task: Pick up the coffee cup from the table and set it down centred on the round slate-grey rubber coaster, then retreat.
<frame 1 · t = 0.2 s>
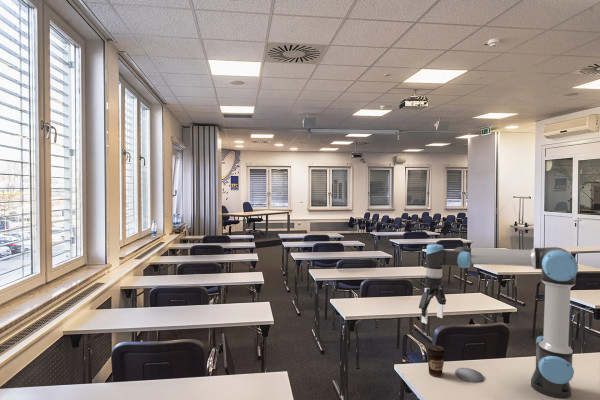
hand: (432, 320, 178), 26 cm above the table, fingers open, 13 cm apart
coffee cup: (435, 374, 177), on the table
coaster: (468, 375, 176), on the table
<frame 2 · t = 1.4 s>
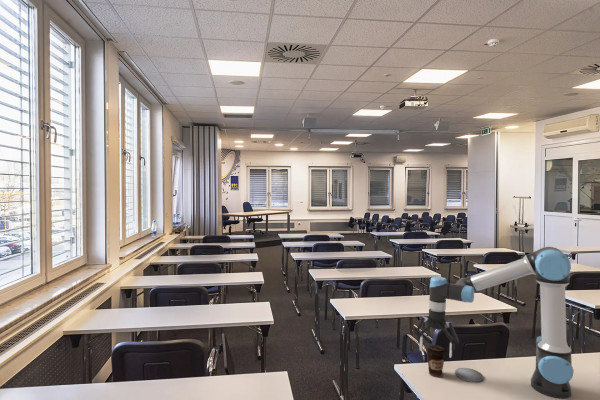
hand: (435, 353, 177), 10 cm above the table, fingers open, 13 cm apart
nothing on the table moved.
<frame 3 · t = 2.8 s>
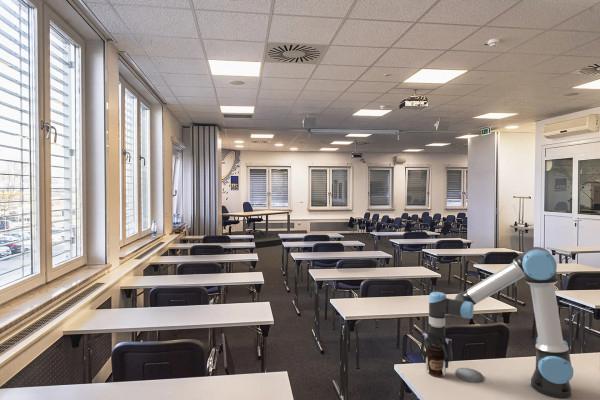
hand: (435, 371, 177), 1 cm above the table, fingers closed on coffee cup, 7 cm apart
coffee cup: (435, 374, 177), on the table, touching gripper
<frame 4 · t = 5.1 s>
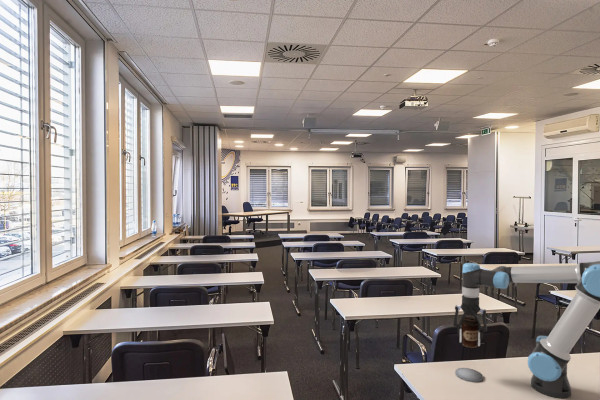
hand: (469, 343, 176), 16 cm above the table, fingers closed on coffee cup, 7 cm apart
coffee cup: (470, 346, 176), point 14 cm above the table, touching gripper
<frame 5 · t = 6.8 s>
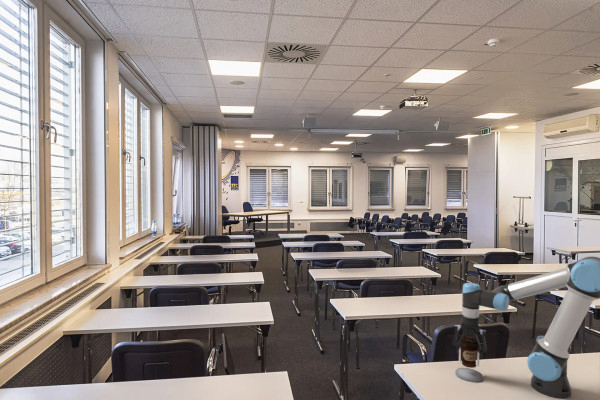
hand: (468, 363, 176), 6 cm above the table, fingers closed on coffee cup, 7 cm apart
coffee cup: (469, 365, 176), point 5 cm above the table, touching gripper
when the fingers open (4 cm above the table, at t = 7.8 s): coffee cup drops 1 cm, resting on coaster.
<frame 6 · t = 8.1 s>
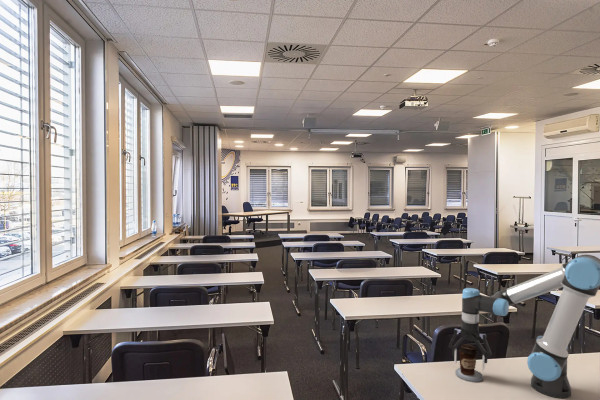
hand: (469, 366, 176), 5 cm above the table, fingers open, 11 cm apart
coffee cup: (467, 373, 176), point 1 cm above the table, touching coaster
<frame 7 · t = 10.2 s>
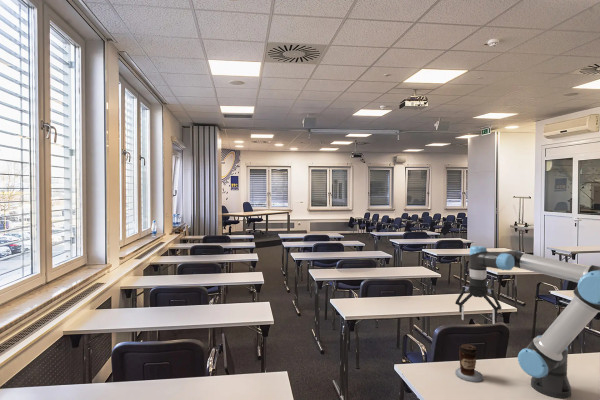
hand: (477, 321, 179), 25 cm above the table, fingers open, 13 cm apart
nothing on the table moved.
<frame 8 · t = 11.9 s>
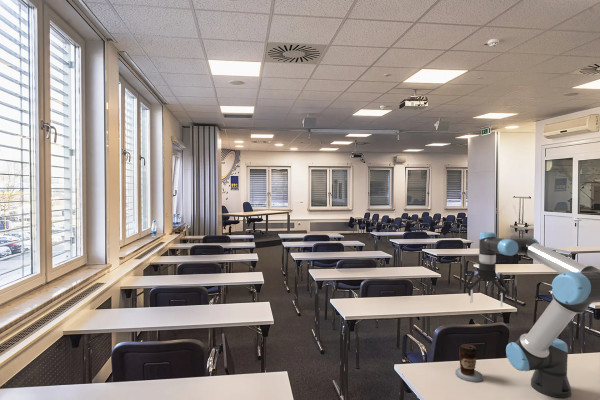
hand: (486, 304, 186), 32 cm above the table, fingers open, 13 cm apart
nothing on the table moved.
at the end: coffee cup inside the target area on the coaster (0.5 cm from its centre), point 0.9 cm above the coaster's base; coffee cup touching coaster; coffee cup tilted 1° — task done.
